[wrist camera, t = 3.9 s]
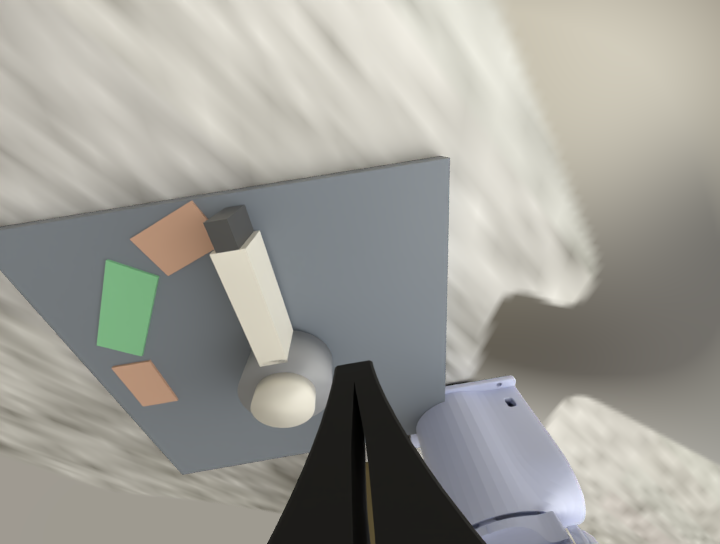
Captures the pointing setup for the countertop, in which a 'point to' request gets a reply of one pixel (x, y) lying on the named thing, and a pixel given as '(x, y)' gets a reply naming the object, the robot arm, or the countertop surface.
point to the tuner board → (217, 316)
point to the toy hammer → (267, 329)
